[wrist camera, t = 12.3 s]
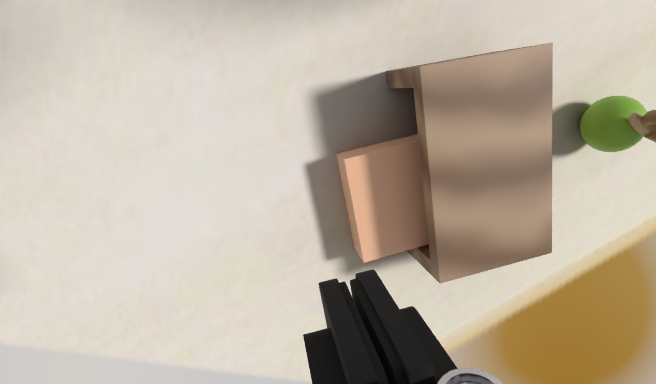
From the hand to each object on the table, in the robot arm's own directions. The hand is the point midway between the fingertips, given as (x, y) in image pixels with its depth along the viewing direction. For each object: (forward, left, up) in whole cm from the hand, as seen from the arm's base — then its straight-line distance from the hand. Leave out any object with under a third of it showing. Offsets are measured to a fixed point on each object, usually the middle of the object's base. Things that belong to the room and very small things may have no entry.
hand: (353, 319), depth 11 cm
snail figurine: (+3, +33, -25) cm, 41 cm away
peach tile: (+5, +12, -25) cm, 28 cm away
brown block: (+3, +16, -25) cm, 29 cm away
